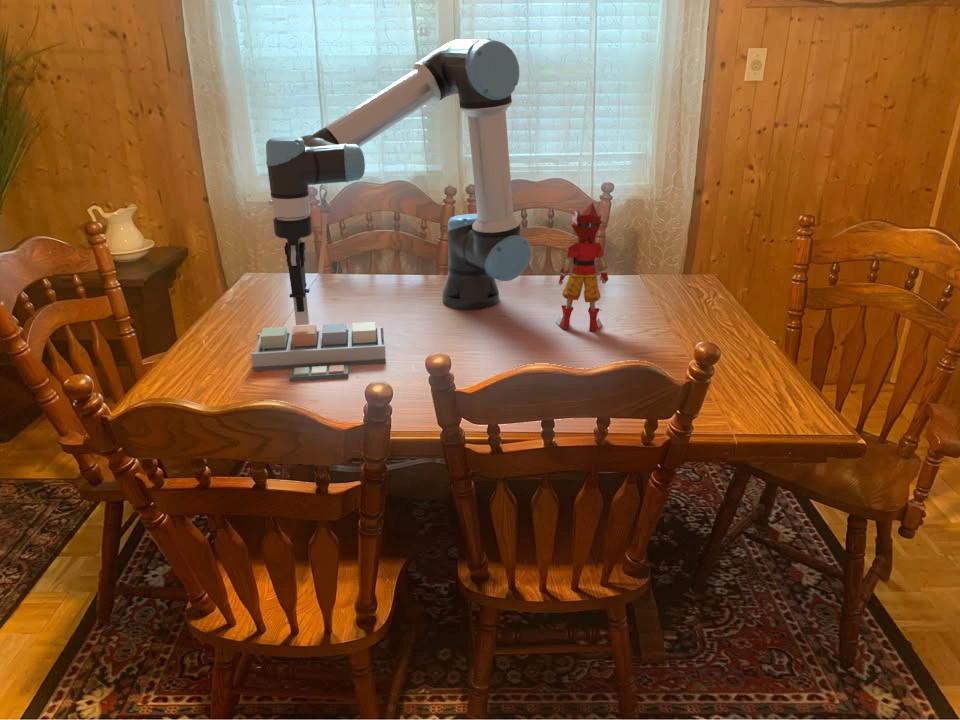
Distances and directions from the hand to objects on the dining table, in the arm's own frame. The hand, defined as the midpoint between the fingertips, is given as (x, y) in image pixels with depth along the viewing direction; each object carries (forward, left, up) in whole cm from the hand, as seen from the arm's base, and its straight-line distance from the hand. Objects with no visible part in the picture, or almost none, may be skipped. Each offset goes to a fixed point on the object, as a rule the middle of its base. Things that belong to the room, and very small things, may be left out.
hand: (302, 323), depth 160 cm
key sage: (+6, 0, -4) cm, 8 cm away
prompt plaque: (-3, +10, -8) cm, 13 cm away
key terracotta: (0, 0, -4) cm, 4 cm away
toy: (-65, -9, -8) cm, 66 cm away
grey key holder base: (-3, 0, -8) cm, 9 cm away
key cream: (-13, 0, -4) cm, 14 cm away
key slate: (-7, 0, -4) cm, 8 cm away
